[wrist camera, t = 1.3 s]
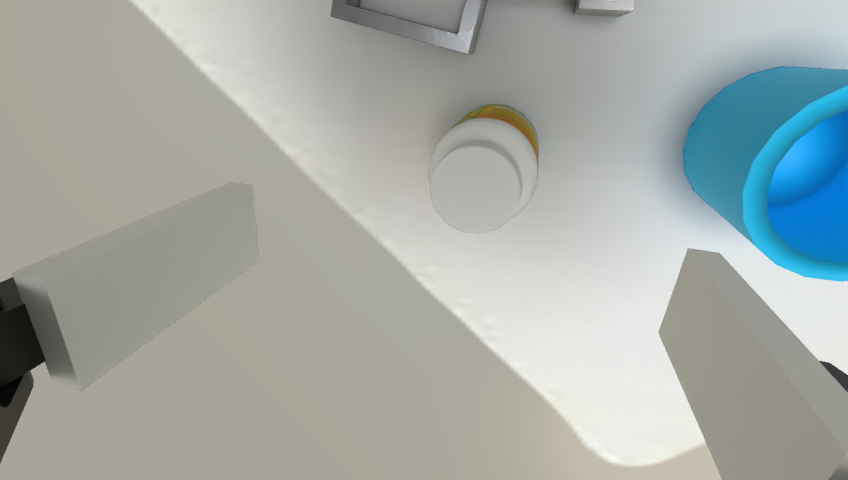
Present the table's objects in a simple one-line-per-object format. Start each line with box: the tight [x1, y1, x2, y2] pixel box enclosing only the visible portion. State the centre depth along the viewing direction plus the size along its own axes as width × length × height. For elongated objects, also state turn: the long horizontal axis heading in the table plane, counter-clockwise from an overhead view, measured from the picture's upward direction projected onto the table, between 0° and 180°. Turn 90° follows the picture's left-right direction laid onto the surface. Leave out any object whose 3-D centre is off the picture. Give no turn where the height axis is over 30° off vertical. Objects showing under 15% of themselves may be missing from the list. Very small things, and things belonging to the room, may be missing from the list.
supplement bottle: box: [429, 104, 538, 233], centre depth 23 cm, size 5×5×10 cm
